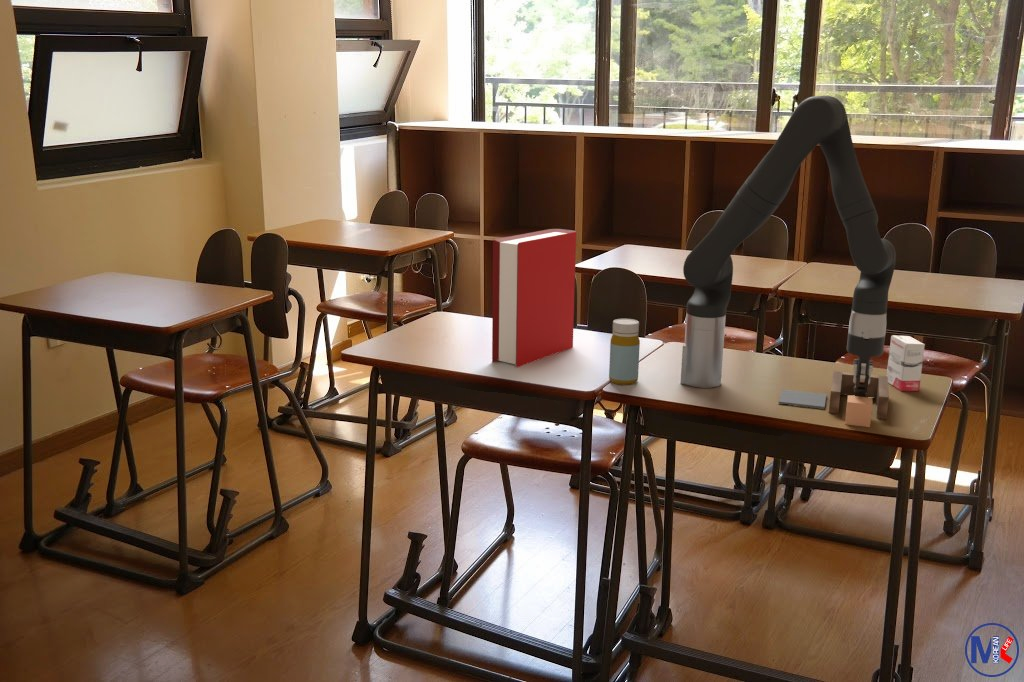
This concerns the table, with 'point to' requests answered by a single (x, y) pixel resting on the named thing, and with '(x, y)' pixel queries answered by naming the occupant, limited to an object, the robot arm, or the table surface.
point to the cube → (858, 411)
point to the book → (533, 295)
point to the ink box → (905, 363)
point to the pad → (803, 399)
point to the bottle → (624, 352)
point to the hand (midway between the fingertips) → (858, 408)
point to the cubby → (845, 385)
